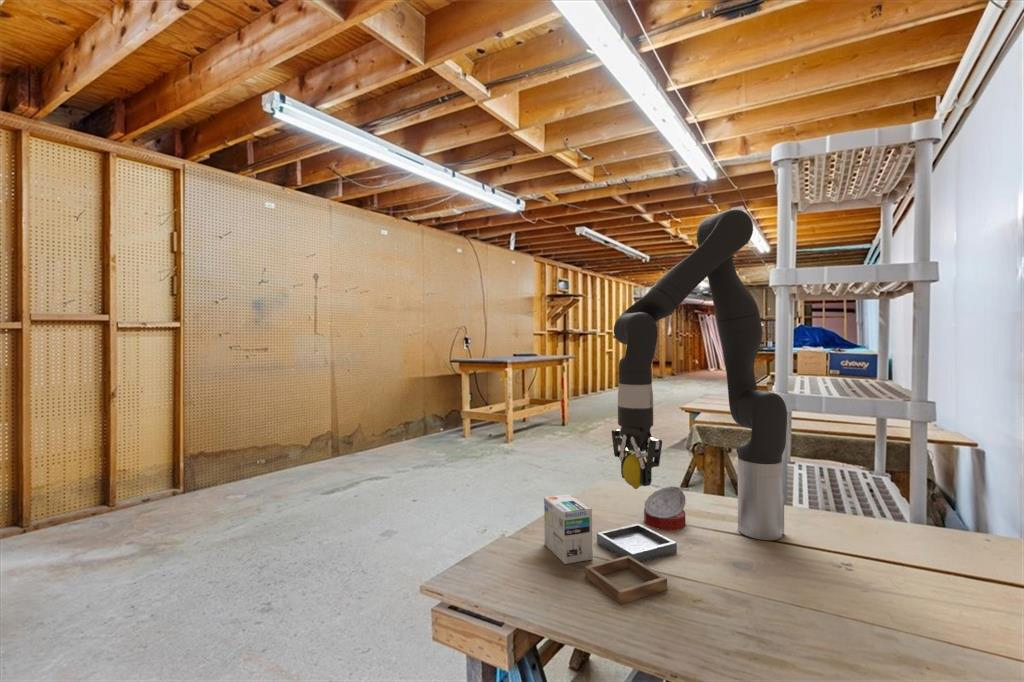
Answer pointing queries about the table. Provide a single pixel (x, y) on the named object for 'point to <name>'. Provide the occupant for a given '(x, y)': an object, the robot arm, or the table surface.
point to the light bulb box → (568, 528)
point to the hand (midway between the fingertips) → (635, 481)
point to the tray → (636, 543)
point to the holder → (631, 593)
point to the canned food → (665, 509)
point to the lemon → (632, 471)
